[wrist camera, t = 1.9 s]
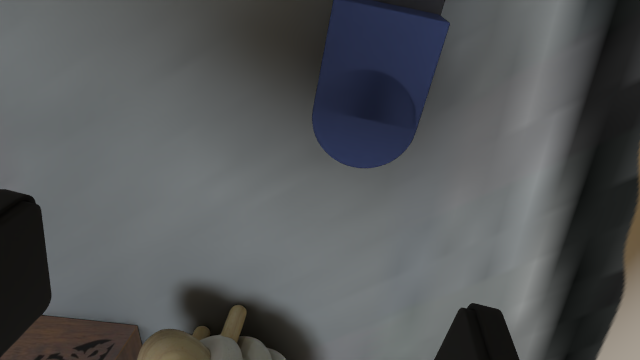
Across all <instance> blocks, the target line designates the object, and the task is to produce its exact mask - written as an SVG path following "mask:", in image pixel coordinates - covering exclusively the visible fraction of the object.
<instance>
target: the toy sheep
mask: <svg viewBox="0 0 640 360" xmlns="http://www.w3.org/2000/svg"><path fill="white" fill-rule="evenodd" d="M246 313H247V311H246V309H245V308H244V307H243V306H242V305H235V306H233V307H232V308H231V310H230V312H229V314H228V317H227V320H226V322H225V325H224V327H223V330H222V332H221V334H220V335H215V336H210V330H209V329H208V328H207V327H205V326H199V327H197V328H196V329H195V331H194V333H193V335H190V334H188V333H186V332H183V331H180V330H175V329H164V330H160V331H158V332H156V333H154V334H153V335H152V336H150V337H149V338H148V339H147V340H146V341H145V343H144V344H143V346H142V347H141V349H140V352H139V355H138V358H137V360H286V359H285V357H284V356H283V355H282V354H280V353H279V352H277V351H275V350H273V349H270V348H266V347H265V345H264V344H263V343H262V342H261V341H260V340H258V339H256V338H252V337H248V336H240V337H239V335H240V333H241V330H242V327H243V324H244V321H245V317H246Z"/></svg>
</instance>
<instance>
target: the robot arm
mask: <svg viewBox="0 0 640 360" xmlns="http://www.w3.org/2000/svg"><path fill="white" fill-rule="evenodd" d="M50 301H51V287H50V279H49V271H48V263H47V254H46V246H45V238H44V230H43V222H42V213H41V208H40V206H39V205H37V204H36V203H35V200H34V198H33V197H32V196H30V195H26V194H22V193H18V192H14V191H10V190H6V189H0V357H1V356H2V355H3V354H4V353H5V352H6V351H7V350H8V349H9V348H10V347H11V346H12V345H13V344H14V343H15V342H16V341H17V340H18V339H19V338H20V337H21V336H22V335H23V334H24V332H25V331H26V330H27V329H28V328H29V327H30V326H31V325H32V324H33V323H34V322H35V321H36V320H37V319H38V318H39V317H40V316H41V315H42V314H43V313H44V312H45V310H46V309H47V307H48V306H49V303H50ZM434 360H519V357H518V355H517V352H516V349H515V346H514V344H513V341H512V338H511V336H510V333H509V330H508V328H507V325H506V322H505V319H504V317H503V314H502V312H501V311H500V310H499V309H495V308H491V307H487V306H483V305H479V304H475V303H471V304H470V305H469V306H468V308H467V309H466V308H460V309H459V311H458V313H457V315H456V317H455V319H454V321H453V323H452V325H451V327H450V329H449V331H448V333H447V335H446V337H445V339H444V341H443V343H442V345H441V347H440V349H439V351H438V353H437V355H436V357H435V359H434Z"/></svg>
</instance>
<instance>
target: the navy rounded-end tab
mask: <svg viewBox="0 0 640 360" xmlns="http://www.w3.org/2000/svg"><path fill="white" fill-rule="evenodd" d="M444 2H445V0H333V5H332V11H331V16H330V21H329V27H328V32H327V37H326V43H325V48H324V53H323V58H322V64H321V69H320V74H319V80H318V85H317V90H316V96H315V101H314V106H313V113H312V124H313V129H314V133H315V136H316V138H317V140H318V142H319V144H320V145H321V147H322V148H323V149H324V150H325V152H326V153H328V154H329V155H330V156H331V157H332V158H334V159H335V160H337V161H338V162H340V163H342V164H345V165H348V166H351V167H356V168H373V167H378V166H382V165H385V164H387V163H389V162H391V161H393V160H394V159H396V158H397V157H399V156H400V155H401V154H402V153H403V152H404V151H405V150H406V149H407V147H408V146H409V145H410V143H411V142H412V140H413V138H414V135H415V133H416V130H417V127H418V123H419V120H420V117H421V114H422V111H423V108H424V104H425V101H426V98H427V95H428V92H429V89H430V85H431V82H432V79H433V76H434V73H435V70H436V67H437V63H438V60H439V57H440V54H441V51H442V48H443V44H444V41H445V38H446V35H447V32H448V29H449V25H450V23H449V22H448V21H447V20H445V19H444V18H443V17H441V16H440V15H441V12H442V9H443V5H444Z"/></svg>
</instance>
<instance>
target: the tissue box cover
mask: <svg viewBox="0 0 640 360" xmlns="http://www.w3.org/2000/svg"><path fill="white" fill-rule="evenodd" d="M141 347H142V343H141V339H140V335H139V331H138V327H137V326H136V325H127V324H117V323H108V322H98V321H89V320H79V319H70V318H60V317H51V316H40V317H39V318H38V319H37V320H36V321H35V322H34V323H33V324H32V325H31V326H30V327H29V328H28V329H27V330H26V331H25V332H24V334H23V335H22V336H21V337H20V338H19V339H18V340H17V341H16V342H15V343H14V344H13V345H12V346H11V347H10V348H9V349H8V350H7V351H6V352H5V353H4V354H3V355H2V356H1V357H0V360H137V358H138V355H139V352H140V349H141Z"/></svg>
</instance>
